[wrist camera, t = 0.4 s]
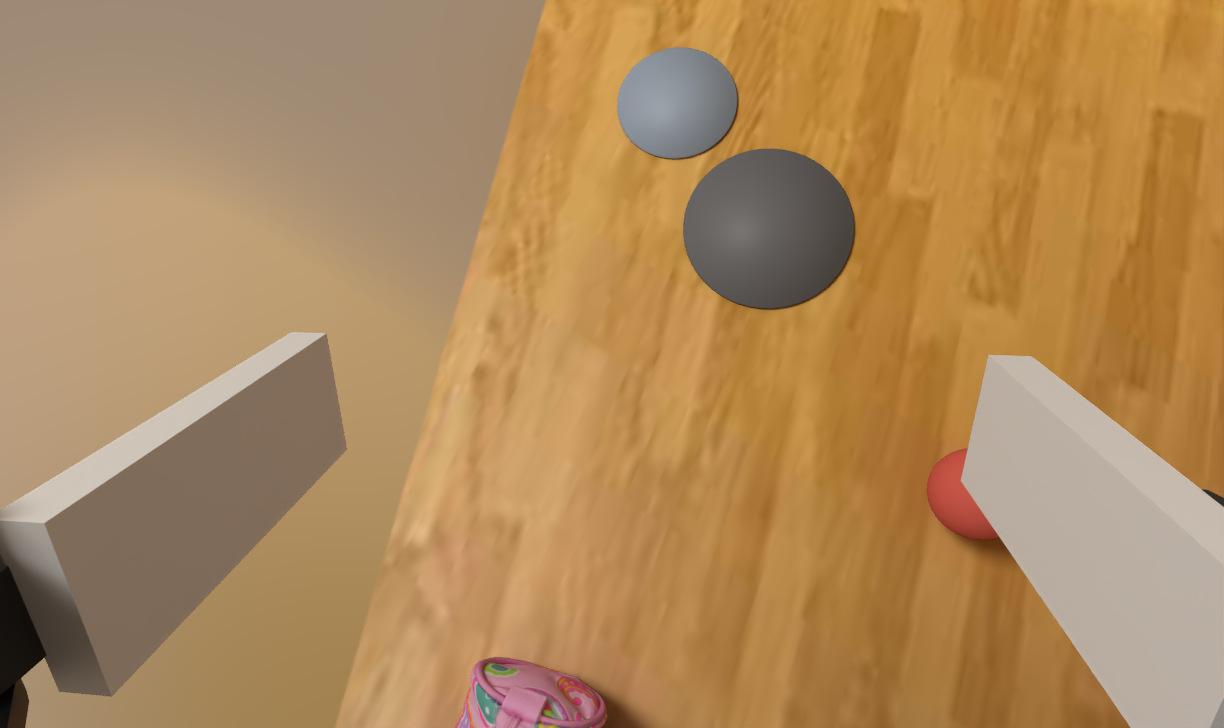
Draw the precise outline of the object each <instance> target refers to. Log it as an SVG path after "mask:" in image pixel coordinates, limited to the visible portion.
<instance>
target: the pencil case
mask: <svg viewBox="0 0 1224 728" xmlns="http://www.w3.org/2000/svg"><path fill="white" fill-rule="evenodd" d="M606 720H607V709H606V706H605V703H604V700H603V699H602V697H601V696H600V695H599V694H598V693H597V692H596V691H594V690H593V689H591V688H590V687H588V686H587V685H585V684H584V683H583V682H581V681H580V680H579V679H578V678H576V677H574V676H570V675H567V674H563V673H560V672H557V671H554V670H551V669H547V668H544V667H541V666H539V665H536V664H533V663H529V662H526V661H521V660H516V659H511V658H503V657H494V658H488V659H484V660H482V661H480V662H478V663H477V664H476V665H475V666H474V667H473V670H472V675H471V687H470V689H469V691H468V694H467V697H466V701H465V702H464V704H463V706H462V710H461V714H460V716H459V719H458V721H457V724H456V726H455V728H601V727H602V726H603V725H604V723H605V722H606Z"/></svg>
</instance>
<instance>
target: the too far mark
mask: <svg viewBox="0 0 1224 728" xmlns="http://www.w3.org/2000/svg"><path fill="white" fill-rule="evenodd" d="M617 108H618V116H619V120H620V124H621V126H622V128H623V130H624V132H625V134H626V135H627V137H628V138H629V139H630V140H631V141H632V142H633V143H634V144H635V145H636V146H637V147H638V148H640V149H641V150H643V151H645V152H647V153H649V154H651V155H654V156H657V157H661V158H667V159H681V158H688V157H691V156H695V155H698V154H700V153H702V152H704V151H706V150H708V149H710V148H711V147H712V146H714V145H715V144H716V143H717V142H719V141H720V140H721V139H722V138H723V136H724V135H725V134H726V133H727V131H728V130H729V128H730V126H731V124H732V122H733V120H734V117H735V113H736V108H737V92H736V87H735V84H734V81H733V79H732V77H731V75H730V73H729V72H728V70H727V69H726V68H725V67H724V65H723V64H722V63H721V62H719V61H718V60H717V59H716V58H714V57H713V56H711V55H709V54H707V53H705V52H702V51H699V50H696V49H691V48H670V49H665V50H662V51H658V52H656V53H654V54H651V55H649V56H648V57H646V58H644V59H643V60H642V61H640V62H639V63H638V64H637V65H636V66H634V67H633V69H632V70H631V71H630V72H629V73H628V75H627V76H626V78H625V79H624V81H623V83H622V86H621V88H620V91H619V96H618V105H617Z"/></svg>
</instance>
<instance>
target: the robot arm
mask: <svg viewBox="0 0 1224 728" xmlns="http://www.w3.org/2000/svg"><path fill="white" fill-rule="evenodd" d="M346 450H347V448H346V441H345V436H344V430H343V424H342V419H341V413H340V407H339V402H338V396H337V391H336V385H335V379H334V373H333V368H332V362H331V356H330V351H329V345H328V339H327V334H326V333H301V332H300V333H298V332H291V333H290V334H288V335H286V336H285V337H283V338H281V339H280V340H278V341H276V342H275V343H273V344H272V345H270V346H268V347H267V348H265V349H263V350H262V351H260V352H259V353H257V354H255V355H254V356H252V357H250V358H249V359H247V360H246V361H244V362H242V363H240V364H239V365H237V366H236V367H234V368H232V369H231V370H229V371H227V372H226V373H224V374H223V375H221V376H219V377H218V378H216V379H214V380H213V381H211V382H210V383H208V384H206V385H204V386H203V387H201V388H200V389H198V390H196V391H195V392H193V393H191V394H190V395H188V396H187V397H185V398H183V399H182V400H180V401H178V402H177V403H175V404H174V405H172V406H170V407H168V408H167V409H165V410H164V411H162V412H160V413H159V414H157V415H155V416H154V417H152V418H150V419H149V420H147V421H146V422H144V423H142V424H141V425H139V426H138V427H136V428H134V429H132V430H131V431H129V432H128V433H126V434H124V435H123V436H121V437H119V438H118V439H116V440H114V441H113V442H111V443H109V444H108V445H106V446H105V447H103V448H101V449H100V450H98V451H96V452H95V453H93V454H91V455H90V456H88V457H87V458H85V459H83V460H82V461H80V462H78V463H77V464H75V465H73V466H72V467H70V468H69V469H67V470H65V471H64V472H62V473H60V474H59V475H57V476H55V477H54V478H52V479H51V480H49V481H47V482H46V483H44V484H42V485H41V486H39V487H37V488H36V489H34V490H33V491H31V492H29V493H28V494H26V495H24V496H23V497H21V498H19V499H18V500H16V501H15V502H13V503H11V504H10V505H8V506H6V507H5V508H3V509H1V510H0V728H25V724H26V717H27V711H28V705H29V699H28V695H27V691H26V689H25V686H24V684H23V682H22V680H21V677H23V676H24V675H25V674H26V673H27V672H28V671H29V670H30V669H32V668H33V667H34V666H35V665H36V664H37V663H38V662H40V661H41V660H42V659H43V658H44V657H45V659H46V662H47V664H48V666H49V668H50V671H51V673H52V676H53V678H54V680H55V683H56V685H57V687H58V689H59V691H60V692H70V693H81V694H92V695H103V696H113V695H114V694H115V693H116V691H117V690H118V689H119V688H120V687H121V686H122V685H123V684H124V683H125V682H126V681H127V680H128V679H129V678H130V677H131V676H132V675H133V674H134V673H135V671H136V670H137V669H138V668H139V667H140V666H141V665H142V664H143V663H144V662H145V661H146V660H147V659H148V658H149V657H150V656H151V655H152V653H154V652H155V651H156V649H157V648H158V647H159V646H160V645H161V644H162V643H163V642H164V641H165V640H166V639H167V638H168V637H169V636H170V635H171V634H172V633H173V632H174V631H175V629H176V628H177V627H178V626H179V625H180V624H181V623H182V622H183V621H184V620H185V619H186V618H187V617H188V616H189V615H190V614H191V613H192V612H193V611H194V610H195V608H196V607H197V606H198V605H199V604H200V603H201V602H202V601H203V600H204V599H205V598H206V597H207V596H208V595H209V594H210V593H211V592H212V590H214V589H215V587H216V586H217V585H218V584H219V583H220V582H221V581H222V580H223V579H224V578H225V577H226V576H227V575H228V574H229V573H230V572H231V571H232V569H233V568H235V566H236V565H237V564H238V563H239V562H240V561H241V560H242V559H243V558H244V557H245V556H246V555H247V554H248V553H249V551H251V550H252V549H253V548H254V547H255V545H256V544H257V543H258V542H259V541H260V540H261V539H262V538H263V537H264V536H265V535H266V534H267V533H268V532H269V531H270V530H271V529H272V528H273V527H274V525H275V524H276V523H277V522H278V521H279V520H280V519H281V518H282V517H283V516H284V515H285V514H286V513H287V512H288V511H289V510H290V509H291V507H293V506H294V505H295V503H296V502H297V501H298V500H299V499H300V498H301V497H302V496H303V495H304V494H305V493H306V492H307V491H308V490H309V489H310V488H311V487H312V486H313V485H314V484H315V482H316V481H317V480H318V479H319V478H320V477H321V476H322V475H323V474H324V473H325V472H326V471H327V470H328V469H329V468H330V466H332V465H333V463H335V461H336V460H337V459H338V458H339V457H340V456H341V455H342V454H343V453H344V452H345V451H346ZM961 482H962V483H963V485H964V486H965V488H966V489H967V491H968V492H969V494H970V495H971V496H972V498H973V499H974V501H975V502H976V504H977V505H978V507H979V508H980V510H981V511H982V512H983V514H984V515H985V517H986V518H987V520H988V521H989V523H990V524H991V525H992V527H993V528H994V530H995V531H996V533H997V534H998V536H999V537H1000V539H1001V540H1002V541H1003V543H1004V544H1005V546H1006V547H1007V549H1008V550H1009V552H1010V553H1011V555H1012V556H1013V557H1014V559H1015V560H1016V562H1017V563H1018V565H1019V566H1020V568H1021V569H1022V570H1023V572H1024V573H1025V575H1026V576H1027V578H1028V579H1029V581H1030V582H1031V584H1032V585H1033V586H1034V588H1035V589H1036V591H1037V592H1038V594H1039V595H1040V597H1041V598H1042V600H1043V601H1044V602H1045V604H1046V605H1047V607H1048V608H1049V610H1050V611H1051V613H1052V614H1053V615H1054V617H1055V618H1056V620H1057V621H1058V623H1059V624H1060V626H1061V627H1062V629H1063V630H1064V631H1065V633H1066V634H1067V636H1068V637H1069V639H1070V640H1071V642H1072V643H1073V645H1074V646H1075V647H1076V649H1077V650H1078V652H1079V653H1080V655H1081V656H1082V658H1083V659H1084V660H1085V662H1086V663H1087V665H1088V666H1089V668H1090V669H1091V671H1092V672H1093V674H1094V675H1095V676H1096V678H1097V679H1098V681H1099V682H1100V684H1101V685H1102V687H1103V688H1104V690H1105V691H1106V692H1107V694H1108V695H1109V697H1110V698H1111V700H1112V701H1113V703H1114V704H1115V705H1116V707H1117V708H1118V710H1119V711H1120V713H1121V714H1122V716H1123V717H1124V719H1125V720H1126V721H1127V723H1128V724H1129V726H1130V727H1131V728H1224V498H1223V497H1221V496H1219V495H1217V494H1215V493H1213V492H1211V491H1209V490H1201V489H1200V488H1199V487H1197V486H1196V485H1195V484H1194V483H1192V482H1191V481H1190V480H1188V479H1187V478H1186V477H1185V476H1183V475H1182V474H1181V473H1180V472H1178V471H1177V470H1176V469H1174V468H1173V467H1172V466H1171V465H1169V464H1168V463H1167V462H1166V461H1164V460H1163V459H1162V458H1160V457H1159V456H1158V455H1157V454H1155V453H1154V452H1153V451H1152V450H1150V449H1149V448H1148V447H1146V446H1145V445H1144V444H1143V443H1141V442H1140V441H1139V440H1138V439H1136V438H1135V437H1134V436H1132V435H1131V434H1130V433H1129V432H1127V431H1126V430H1125V429H1123V428H1122V427H1121V426H1120V425H1118V424H1117V423H1116V422H1115V421H1113V420H1112V419H1111V418H1109V417H1108V416H1107V415H1106V414H1104V413H1103V412H1102V411H1101V410H1099V409H1098V408H1097V407H1095V406H1094V405H1093V404H1092V403H1090V402H1089V401H1088V400H1087V399H1085V398H1084V397H1083V396H1081V395H1080V394H1079V393H1078V392H1076V391H1075V390H1074V389H1073V388H1071V387H1070V386H1069V385H1067V384H1066V383H1065V382H1064V381H1062V380H1061V379H1060V378H1059V377H1057V376H1056V375H1055V374H1053V373H1052V372H1051V371H1050V370H1048V369H1047V368H1046V367H1045V366H1043V365H1042V364H1041V363H1039V362H1038V361H1037V360H1036V359H1034V358H1033V357H1032V356H1003V355H989V356H988V360H987V365H986V369H985V374H984V378H983V383H982V387H981V392H980V396H979V401H978V405H977V410H976V414H975V419H974V423H973V428H972V432H971V437H970V441H969V446H968V450H967V455H966V459H965V464H964V468H963V473H962V477H961Z"/></svg>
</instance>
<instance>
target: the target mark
mask: <svg viewBox="0 0 1224 728" xmlns="http://www.w3.org/2000/svg"><path fill="white" fill-rule="evenodd" d="M683 234H684V242H685V247H686V251H687V254H688V257H689V259H690V262H691V264H692V266H693V267H694V269H695V271H696V272H697V274H698V275H699V276H700V277H701V279H702V280H703V281H704V282H705V283H706V284H707V285H708V286H709V287H710V288H711V289H712V290H714V291H715V292H716V293H718V294H719V295H721V296H723V297H724V298H726V299H728V300H730V301H732V302H735V303H737V304H740V305H744V306H748V307H753V308H761V309H775V308H783V307H788V306H792V305H795V304H798V303H801V302H803V301H806V300H808V299H809V298H811V297H813V296H815V295H817V294H818V293H819V292H821V291H822V290H823V289H825V288H826V287H827V286H828V285H829V284H830V283H831V282H832V281H833V280H834V279H835V277H836V276H837V275H838V274H839V272H840V271H841V269H842V268H843V266H844V264H845V263H846V261H847V258H848V256H849V253H850V251H851V247H852V243H853V236H854V219H853V213H852V208H851V205H850V202H849V199H848V197H847V195H846V193H845V191H844V189H843V188H842V186H841V185H840V183H839V182H838V181H837V180H836V178H835V177H834V176H833V175H832V174H831V173H830V172H829V171H828V170H827V169H825V168H824V167H823V166H822V165H820V164H819V163H817V162H816V161H814V160H812V159H810V158H808V157H806V156H804V155H801V154H798V153H795V152H791V151H787V150H780V149H759V150H752V151H748V152H744V153H740V154H738V155H735V156H733V157H730V158H729V159H727V160H725V161H723V162H721V163H720V164H719V165H717V166H716V167H714V168H713V169H712V170H711V171H710V172H709V173H708V174H707V175H705V176H704V178H703V179H702V180H701V181H700V183H699V184H698V185H697V187H696V188H695V190H694V192H693V193H692V195H691V197H690V200H689V202H688V205H687V208H686V211H685V217H684V228H683Z"/></svg>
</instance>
